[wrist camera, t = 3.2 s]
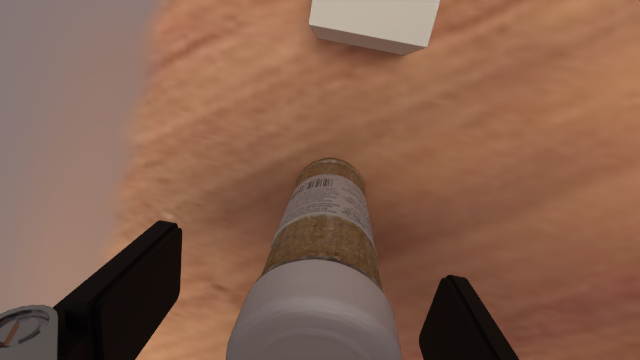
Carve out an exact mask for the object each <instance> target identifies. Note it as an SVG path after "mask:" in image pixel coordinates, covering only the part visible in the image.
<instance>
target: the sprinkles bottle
mask: <svg viewBox="0 0 640 360" xmlns="http://www.w3.org/2000/svg"><path fill="white" fill-rule="evenodd" d="M364 194H365V190H364V183H363V180H362V178H361V176H360V174H359V173H358V172H357V170H356V169H355V168H354V167H352V166H351V165H350V164H348V163H346V162H344V161H341V160H337V159H331V158H329V159H322V160H319V161H316V162H313V163H312V164H310V165H309V166H308V167H306V168H305V169H304V170H303V172H302V173H301V175H300V177H299V178H298V180H297V184H296V189H295V190H294V192H293V194H292V196H291V198H290V201H289V203H288V205H287V208H286V210H285V212H284V215H283V217H282V220H281V222H280V224H279V227H278V229H277V232H276V234H275V236H274V239H273V242H272V244H271V251H270V255H269V257H268V259H267V262H266V265H265V267H264V270H263V273H262V275H261V276H260V277H259V278H258V280H257V281H256V283H255V284H254V286H253V287H252V288H251V290H250V291H249V293H248V295H247V297H246V299H245V301H244V303H243V306H242V308H241V311H240V313H239V315H238V318H237V320H236V323H235V326H234V328H233V331H232V333H231V336H230V339H229V342H228V346H227V352H226V360H402V356H401V350H400V344H399V338H398V334H397V329H396V324H395V320H394V315H393V311H392V308H391V306H390V303H389V301H388V299H387V298H386V296H385V295H384V292H383V290H382V286H381V282H380V277H379V271H378V266H377V263H378V262H377V254H376V249H375V244H374V239H373V234H372V229H371V224H370V218H369V213H368V208H367V203H366V200H365V197H364Z"/></svg>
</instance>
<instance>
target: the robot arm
mask: <svg viewBox="0 0 640 360" xmlns="http://www.w3.org/2000/svg"><path fill="white" fill-rule="evenodd" d="M181 251H182V229H181V228H178V225H177V224H176V223H172V222H167V221H161V220H159V221H157V222H156V223H155V224H154V225H152V226H151V227H150V228H149V229H148V230H146V231H145V232H144V233H143V234H142V235H140V236H139V237H138V238H137V239H135V240H134V241H133V242H132V243H131V244H129V245H128V246H127V247H126V248H125V249H123V250H122V251H121V252H120V253H118V254H117V255H116V256H115V257H114V258H112V259H111V260H110V261H109V262H107V263H106V264H105V265H104V266H103V267H101V268H100V269H99V270H98V271H97V272H95V273H94V274H93V275H92V276H90V277H89V278H88V279H87V280H86V281H84V282H83V283H82V284H81V285H80V286H78V287H77V288H76V289H75V290H74V291H72V292H71V293H70V294H69V295H67V296H66V297H65V298H64V299H63V300H61V301H60V302H59V303H58V304H57V305H55V306H54V307H53V308H51V307H49V306H45V305H29V306H22V307H18V308H15V309H12V310H8V311H6V312H4V313H2V314H0V360H135V359H136V357H137V356H138V355H139V353H140V352H141V350H142V349H143V348H144V346H145V345H146V343H147V342H148V340H149V339H150V338H151V336H152V335H153V333H154V332H155V330H156V329H157V328H158V326H159V325H160V323H161V322H162V321H163V319H164V318H165V316H166V315H167V313H168V312H169V311H170V309H171V308H172V306H173V305H174V303H175V302H176V300H177V299H178V296H179V293H180V277H181ZM419 345H420V349H421V352H422V355H423V358H424V360H519V359H518V357H517V355H516V354H515V352H514V351H513V349H512V348H511V346H510V345H509V343H508V342H507V340H506V338H505V337H504V335H503V334H502V332H501V331H500V329H499V328H498V326H497V324H496V323H495V321H494V320H493V318H492V317H491V315H490V314H489V312H488V311H487V309H486V307H485V306H484V304H483V303H482V301H481V300H480V298H479V297H478V295H477V293H476V292H475V290H474V289H473V287H472V286H471V284H470V283H469V281H468V280H467V279H466V278H464V277H459V276H453V275H448V276H447V277H446V278H442V279H441V281H440V283H439V286H438V289H437V291H436V294H435V296H434V299H433V302H432V304H431V307H430V309H429V312H428V315H427V317H426V320H425V322H424V325H423V328H422V330H421V333H420V336H419Z"/></svg>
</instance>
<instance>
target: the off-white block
mask: <svg viewBox="0 0 640 360" xmlns="http://www.w3.org/2000/svg"><path fill="white" fill-rule="evenodd" d="M439 3H440V0H312V7H311V13H310V20H309V26H310V27H311V29H312V30H313V32H314V33H315V35H316V36H317V38H318V39H322V40H328V41H333V42H338V43H343V44H348V45H353V46H359V47H364V48H369V49H374V50H379V51H384V52H390V53H395V54H400V55H407V54H410V53H413V52H415V51H418V50H421V49H424V48H427V46H428V43H429V39H430V35H431V32H432V28H433V24H434V21H435V17H436V14H437V10H438V6H439Z"/></svg>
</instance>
